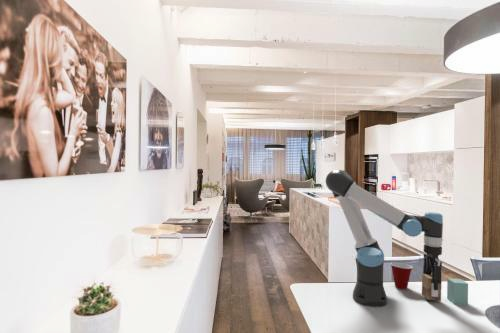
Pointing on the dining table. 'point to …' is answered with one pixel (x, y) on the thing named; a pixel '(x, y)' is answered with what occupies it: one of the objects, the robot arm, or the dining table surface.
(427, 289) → the walnut block
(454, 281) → the teal block
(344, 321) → the dining table surface
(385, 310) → the dining table surface
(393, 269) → the plastic cup
